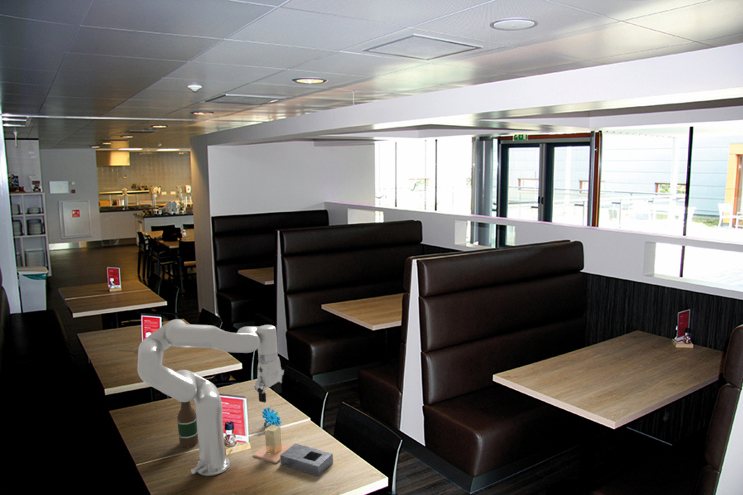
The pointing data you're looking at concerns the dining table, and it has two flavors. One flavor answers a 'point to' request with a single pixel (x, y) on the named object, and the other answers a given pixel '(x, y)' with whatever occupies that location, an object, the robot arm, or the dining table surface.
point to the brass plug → (273, 439)
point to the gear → (271, 417)
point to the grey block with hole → (306, 459)
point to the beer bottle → (187, 425)
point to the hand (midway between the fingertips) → (270, 396)
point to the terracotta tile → (271, 457)
